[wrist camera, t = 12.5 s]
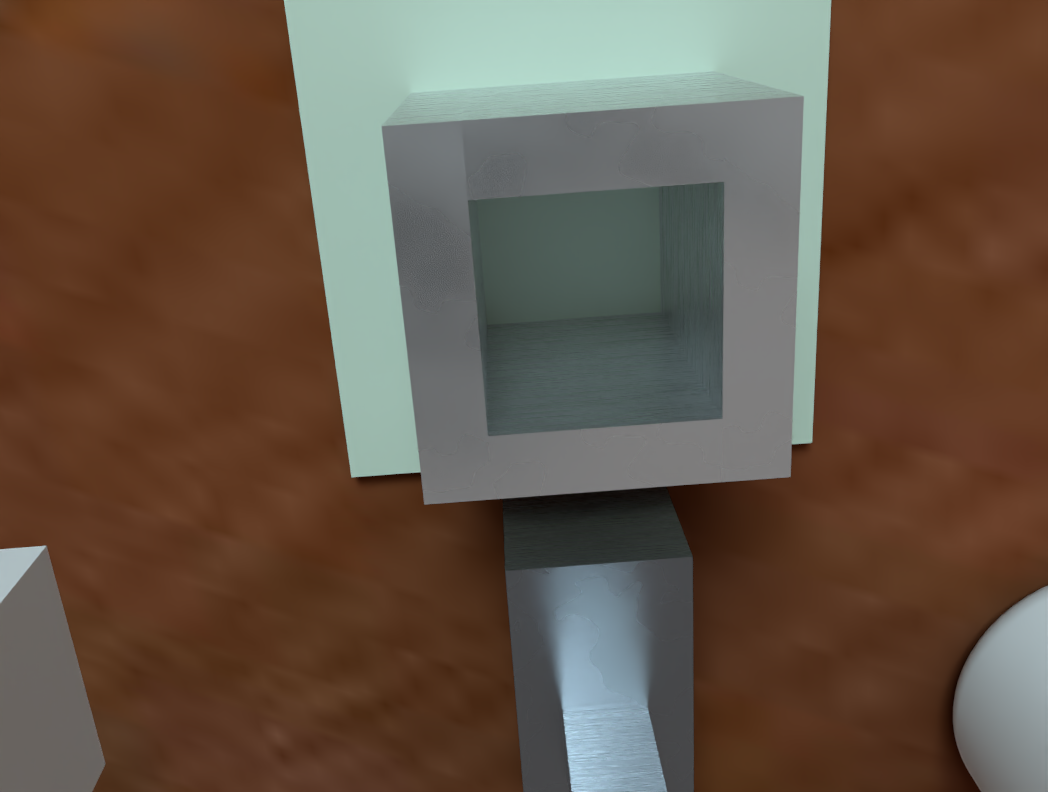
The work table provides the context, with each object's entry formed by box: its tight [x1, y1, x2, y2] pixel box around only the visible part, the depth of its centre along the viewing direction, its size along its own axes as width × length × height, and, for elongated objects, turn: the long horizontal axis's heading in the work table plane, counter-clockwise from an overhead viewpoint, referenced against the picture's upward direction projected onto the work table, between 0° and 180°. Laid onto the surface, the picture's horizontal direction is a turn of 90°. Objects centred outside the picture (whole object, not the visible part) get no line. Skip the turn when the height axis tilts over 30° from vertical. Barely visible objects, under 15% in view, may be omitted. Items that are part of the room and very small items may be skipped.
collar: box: [381, 71, 804, 505], centre depth 24 cm, size 8×8×8 cm
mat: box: [284, 0, 831, 477], centre depth 28 cm, size 14×14×1 cm
